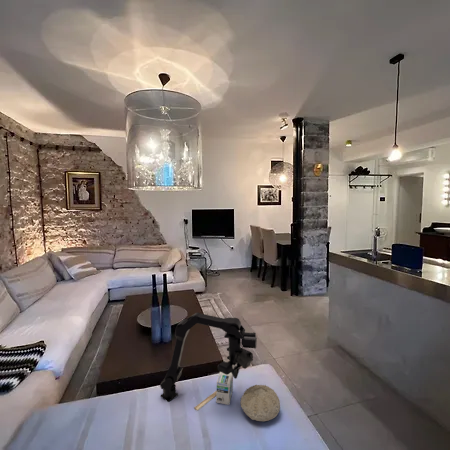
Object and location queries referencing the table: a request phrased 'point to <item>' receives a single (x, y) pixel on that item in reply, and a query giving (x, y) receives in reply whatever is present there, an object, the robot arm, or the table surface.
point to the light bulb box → (224, 388)
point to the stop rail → (205, 401)
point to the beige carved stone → (260, 403)
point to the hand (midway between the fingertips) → (235, 378)
